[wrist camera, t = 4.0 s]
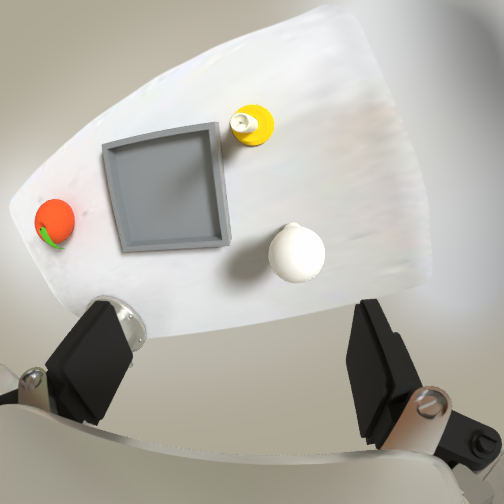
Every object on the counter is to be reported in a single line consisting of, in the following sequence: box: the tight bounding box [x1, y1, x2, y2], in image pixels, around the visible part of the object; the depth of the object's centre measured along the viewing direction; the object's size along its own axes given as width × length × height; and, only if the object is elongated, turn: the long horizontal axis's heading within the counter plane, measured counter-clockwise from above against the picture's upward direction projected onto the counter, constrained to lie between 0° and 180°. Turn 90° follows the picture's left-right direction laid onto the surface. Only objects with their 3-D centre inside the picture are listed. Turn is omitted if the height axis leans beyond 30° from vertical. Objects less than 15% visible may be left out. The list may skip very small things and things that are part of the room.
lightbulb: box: [268, 222, 325, 283], centre depth 33 cm, size 6×6×11 cm
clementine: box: [35, 199, 74, 249], centre depth 36 cm, size 8×7×7 cm
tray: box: [102, 122, 232, 252], centre depth 36 cm, size 16×16×2 cm
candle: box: [230, 105, 274, 146], centre depth 26 cm, size 5×5×16 cm
